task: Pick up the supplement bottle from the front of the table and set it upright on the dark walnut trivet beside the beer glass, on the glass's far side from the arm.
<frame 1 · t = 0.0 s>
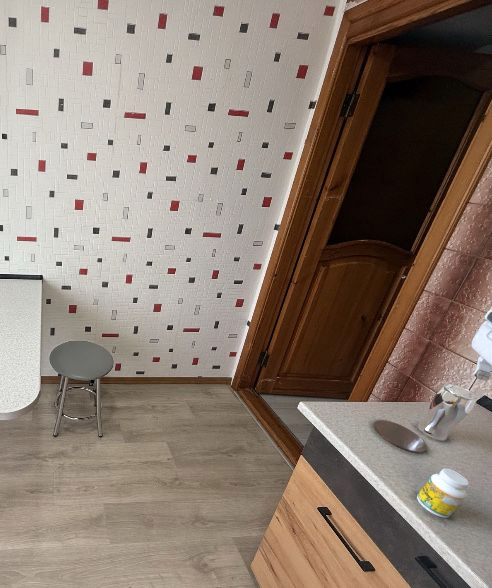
hand: (491, 390, 67), 28 cm above the kitchen counter, tool pointing down, fingers open, 8 cm apart
supplement bottle: (431, 506, 73), on the kitchen counter
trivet: (398, 436, 92), on the kitchen counter
beer glass: (431, 432, 95), on the kitchen counter
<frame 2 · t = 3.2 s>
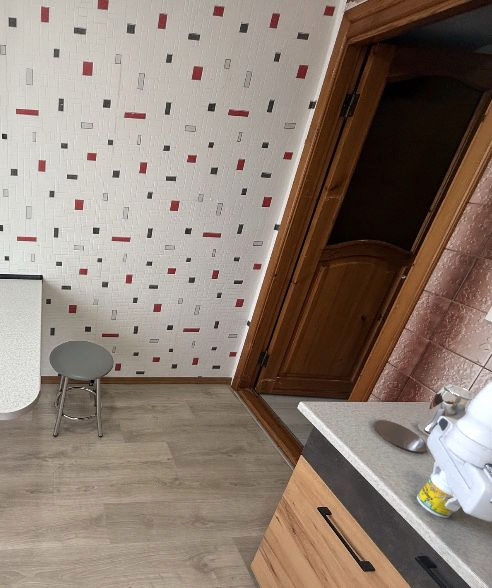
hand: (441, 493, 72), 4 cm above the kitchen counter, tool pointing down, fingers closed on supplement bottle, 5 cm apart
supplement bottle: (431, 506, 73), on the kitchen counter, touching gripper
everything else where it was.
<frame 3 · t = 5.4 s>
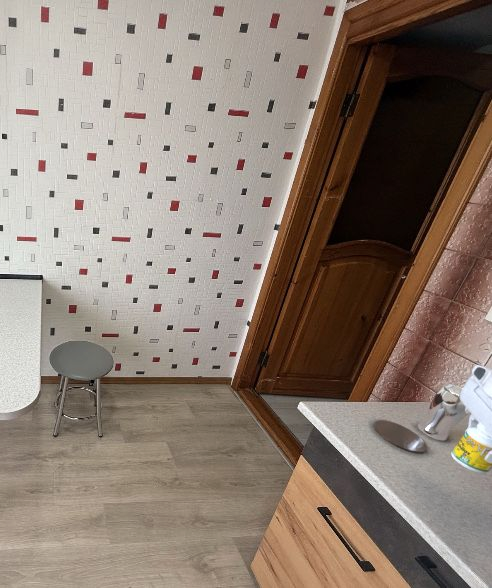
hand: (479, 448, 66), 18 cm above the kitchen counter, tool pointing down, fingers closed on supplement bottle, 5 cm apart
supplement bottle: (467, 463, 68), point 14 cm above the kitchen counter, touching gripper
everything else where it was.
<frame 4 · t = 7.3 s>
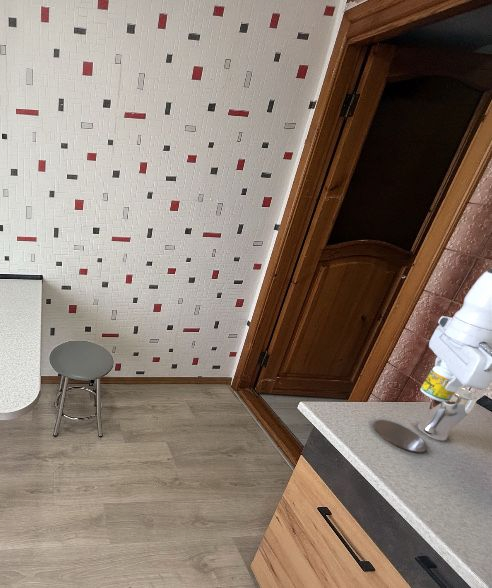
hand: (442, 382, 82), 21 cm above the kitchen counter, tool pointing down, fingers closed on supplement bottle, 5 cm apart
supplement bottle: (433, 395, 83), point 16 cm above the kitchen counter, touching gripper
everything else where it was.
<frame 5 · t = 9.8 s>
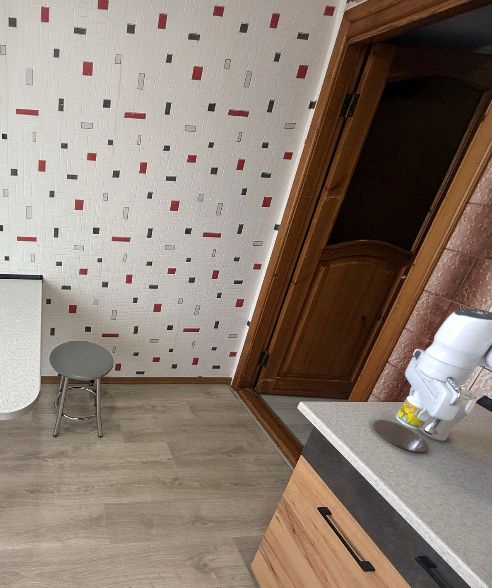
hand: (415, 410, 88), 9 cm above the kitchen counter, tool pointing down, fingers closed on supplement bottle, 5 cm apart
supplement bottle: (407, 422, 90), point 5 cm above the kitchen counter, touching gripper
everything else where it was.
when the fingers open (5 cm above the kitchen counter, at t = 11.5 s): supplement bottle stays where it is, resting on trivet.
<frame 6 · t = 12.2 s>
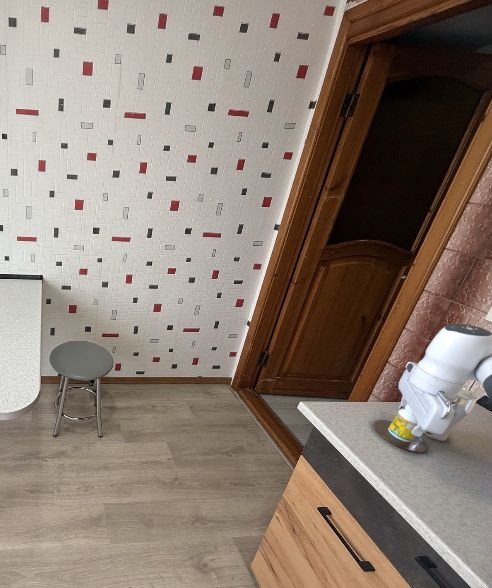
hand: (408, 422, 90), 5 cm above the kitchen counter, tool pointing down, fingers open, 8 cm apart
supplement bottle: (399, 435, 92), resting on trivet
everything else where it was.
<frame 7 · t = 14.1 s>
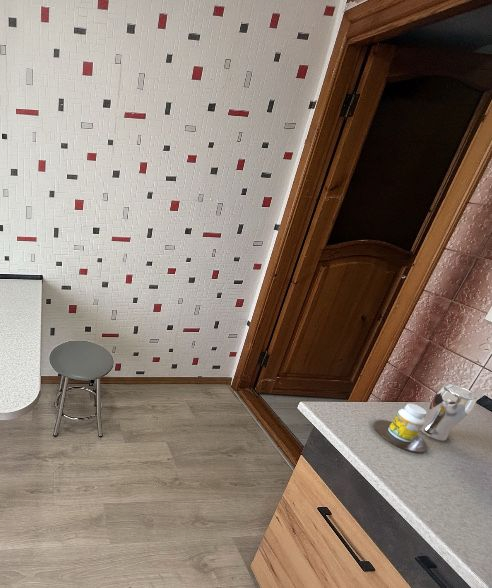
nothing on the kitchen counter moved.
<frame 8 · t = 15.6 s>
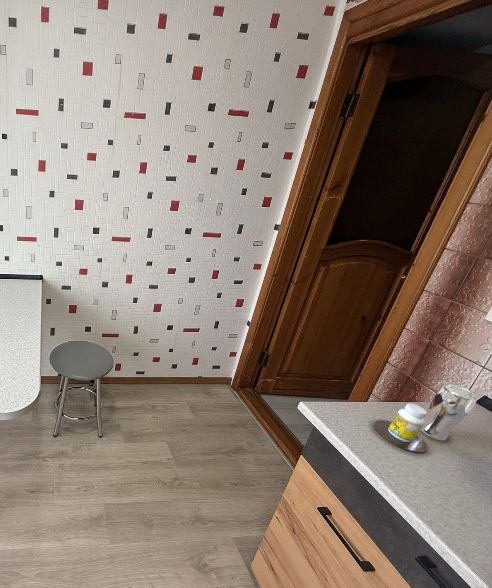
nothing on the kitchen counter moved.
at the end: supplement bottle 0.0 cm off-centre on the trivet, point 0.4 cm above the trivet's base; supplement bottle tilted 0°; supplement bottle inside the target area on the kitchen counter beside the beer glass (0.4 cm from its centre), point 0.6 cm above the kitchen counter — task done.
